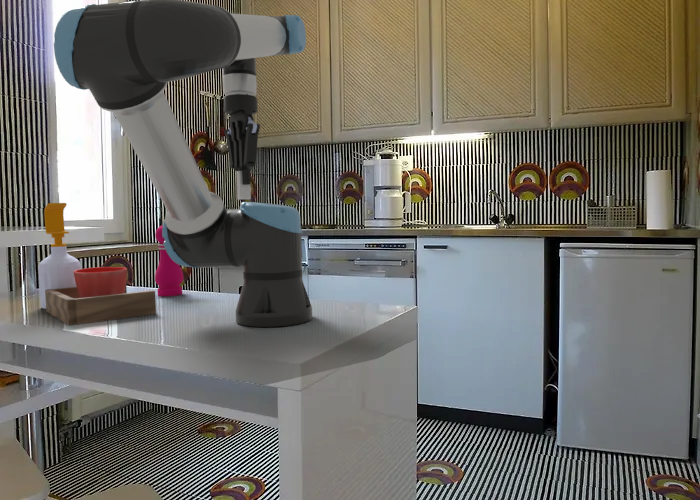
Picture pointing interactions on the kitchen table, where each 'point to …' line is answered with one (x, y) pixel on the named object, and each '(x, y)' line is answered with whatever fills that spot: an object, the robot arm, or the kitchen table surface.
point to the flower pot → (100, 281)
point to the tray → (98, 305)
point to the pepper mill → (167, 271)
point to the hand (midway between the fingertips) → (244, 199)
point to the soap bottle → (56, 255)
